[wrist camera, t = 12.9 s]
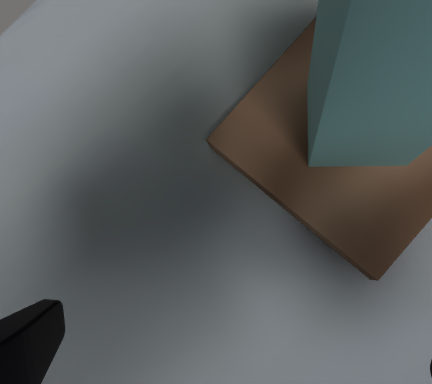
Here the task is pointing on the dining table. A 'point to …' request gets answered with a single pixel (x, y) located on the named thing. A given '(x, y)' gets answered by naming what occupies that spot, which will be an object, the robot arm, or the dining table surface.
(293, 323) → the dining table surface
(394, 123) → the teal block
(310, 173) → the walnut board
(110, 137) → the dining table surface
